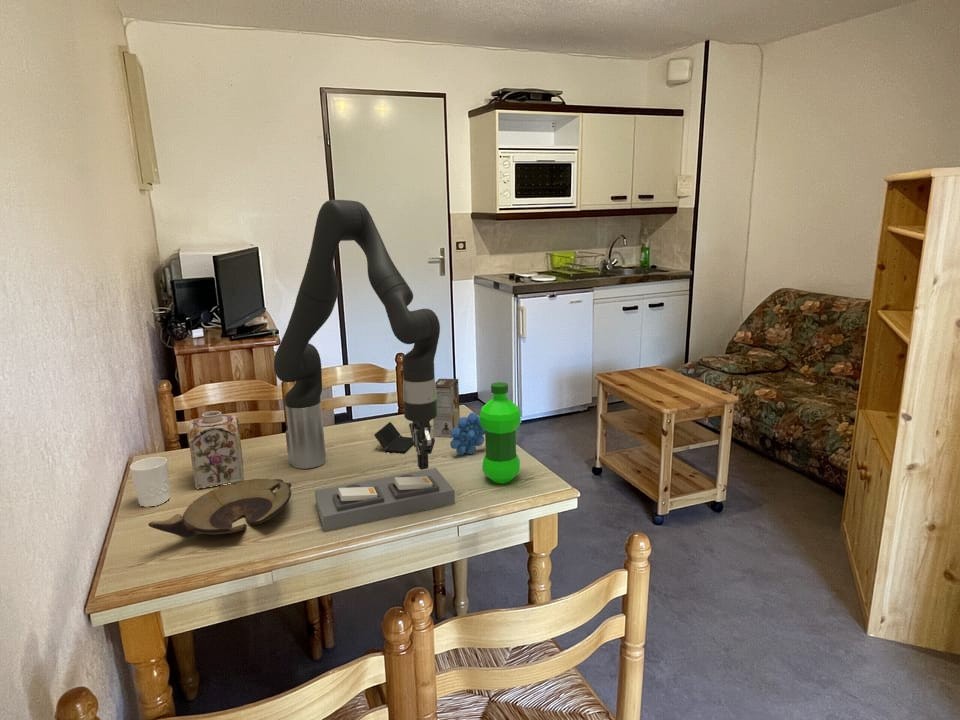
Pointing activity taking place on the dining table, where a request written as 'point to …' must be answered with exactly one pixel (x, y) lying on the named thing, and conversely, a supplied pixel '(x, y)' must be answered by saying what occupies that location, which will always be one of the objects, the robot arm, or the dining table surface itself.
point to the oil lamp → (229, 508)
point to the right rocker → (412, 483)
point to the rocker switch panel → (382, 500)
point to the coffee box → (446, 407)
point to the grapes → (467, 434)
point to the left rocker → (357, 493)
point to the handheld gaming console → (393, 440)
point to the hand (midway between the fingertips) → (423, 467)
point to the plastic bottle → (500, 435)
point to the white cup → (151, 480)
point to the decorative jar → (215, 449)
